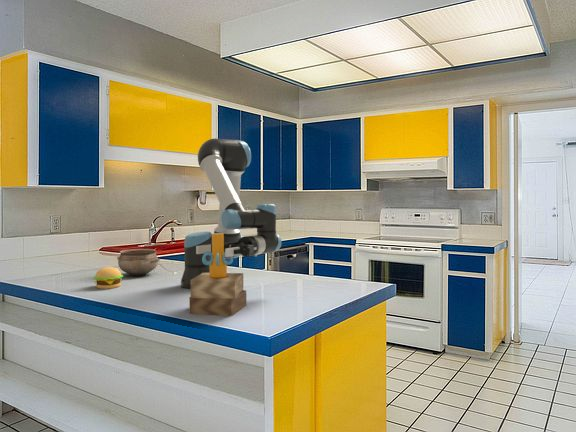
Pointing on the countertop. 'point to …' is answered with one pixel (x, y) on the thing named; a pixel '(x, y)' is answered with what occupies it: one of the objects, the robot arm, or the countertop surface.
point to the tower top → (217, 286)
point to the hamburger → (108, 278)
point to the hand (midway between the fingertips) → (211, 251)
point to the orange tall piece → (217, 257)
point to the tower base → (217, 305)
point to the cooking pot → (138, 261)
